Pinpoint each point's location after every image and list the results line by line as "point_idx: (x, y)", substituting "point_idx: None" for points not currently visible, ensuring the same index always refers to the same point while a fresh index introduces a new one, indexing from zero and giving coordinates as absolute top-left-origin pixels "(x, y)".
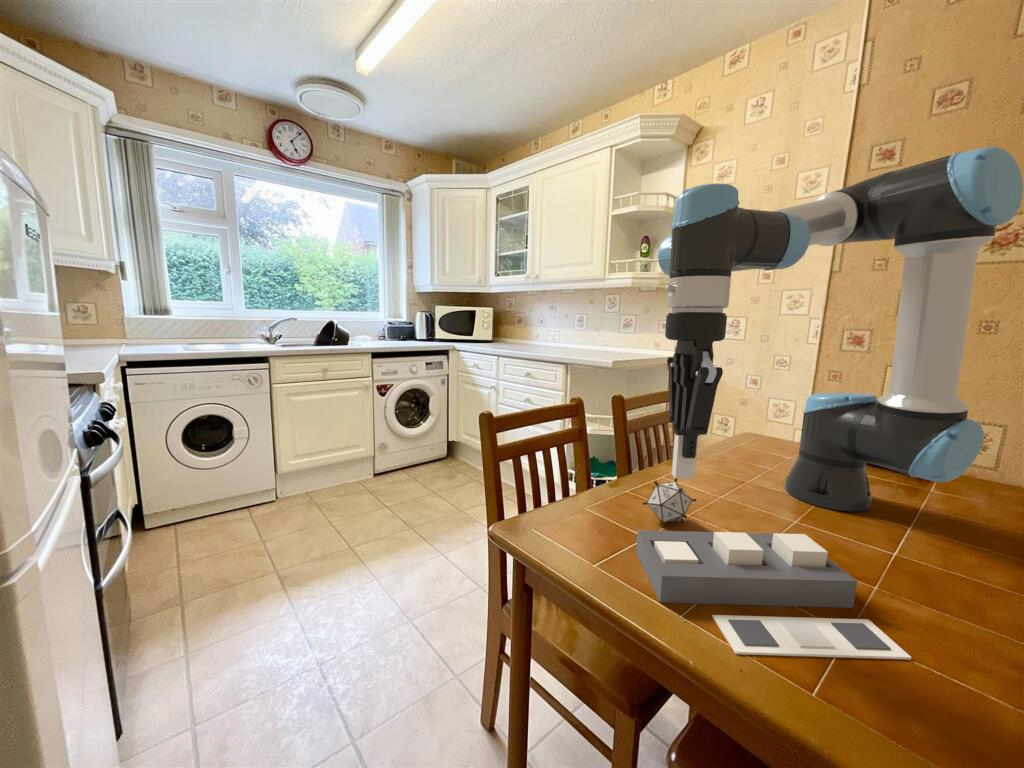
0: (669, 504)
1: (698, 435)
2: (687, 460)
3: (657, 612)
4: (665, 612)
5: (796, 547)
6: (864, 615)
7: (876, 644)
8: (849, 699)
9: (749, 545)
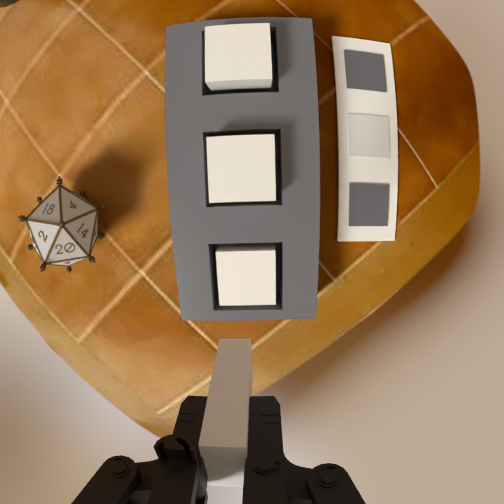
0: (86, 240)
1: (273, 455)
2: (250, 395)
3: (327, 306)
4: (327, 297)
5: (258, 66)
6: (319, 32)
7: (379, 65)
8: (440, 154)
9: (257, 153)
